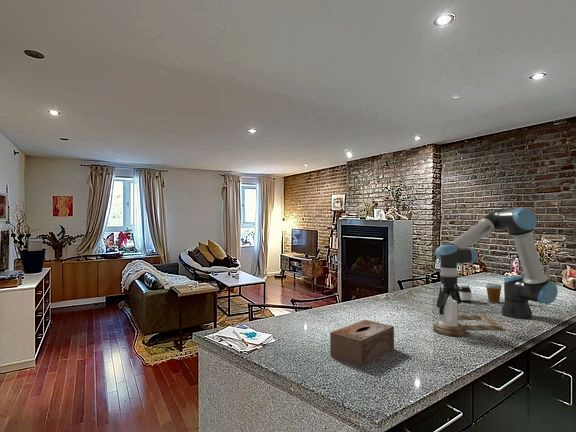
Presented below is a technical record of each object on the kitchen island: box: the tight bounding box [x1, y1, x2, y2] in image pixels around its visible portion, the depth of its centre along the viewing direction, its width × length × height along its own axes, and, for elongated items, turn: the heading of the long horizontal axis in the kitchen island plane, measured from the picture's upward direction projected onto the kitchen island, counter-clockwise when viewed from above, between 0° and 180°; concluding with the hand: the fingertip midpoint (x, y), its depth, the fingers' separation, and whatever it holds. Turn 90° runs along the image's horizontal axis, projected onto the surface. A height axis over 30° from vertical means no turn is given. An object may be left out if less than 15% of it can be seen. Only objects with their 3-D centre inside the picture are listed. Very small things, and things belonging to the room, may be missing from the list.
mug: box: [438, 298, 458, 327], centre depth 171 cm, size 12×8×12 cm
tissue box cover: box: [329, 319, 395, 367], centre depth 144 cm, size 26×14×10 cm, turn 135°
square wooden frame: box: [457, 314, 503, 331], centre depth 185 cm, size 20×20×2 cm
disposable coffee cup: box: [485, 282, 503, 304], centre depth 235 cm, size 10×10×12 cm
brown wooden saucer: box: [432, 321, 467, 337], centre depth 171 cm, size 15×15×3 cm
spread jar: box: [450, 283, 472, 303], centre depth 238 cm, size 12×11×12 cm
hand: (449, 318), depth 172 cm, fingers open, 13 cm apart
